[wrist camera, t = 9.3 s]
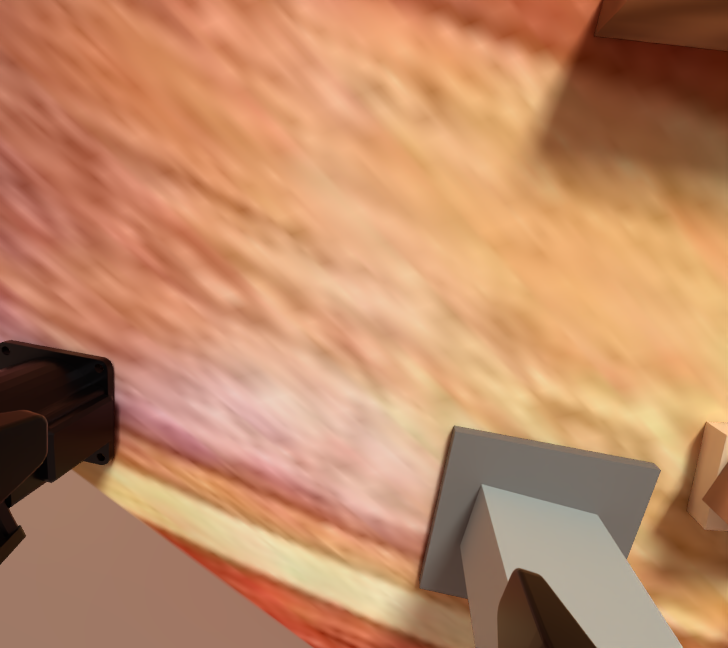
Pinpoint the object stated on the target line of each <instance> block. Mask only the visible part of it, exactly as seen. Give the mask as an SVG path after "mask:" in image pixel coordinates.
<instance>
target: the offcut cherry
mask: <svg viewBox="0 0 728 648" xmlns="http://www.w3.org/2000/svg"><path fill="white" fill-rule="evenodd" d="M702 500H703V501H704V502H705V503H706V504H707V505H708V506H709V507H710V508H711V509H712V510H713V511H714V512H715V513H716V514H717V515H718V516H719V517H720V518H722V519H723V520H724V521H725V522H726V523H727V524H728V462H727V464H726V465H725V467H724V468H723V470H722V471H721V472H720V474H719V475H718V477H717V478H716V480H715V481H714V483H713V484H712V485H711V487H710V488H709V490H708V491H707V493H706V494H705V496H704V497H703V498H702Z"/></svg>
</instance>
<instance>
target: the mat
mask: <svg viewBox="0 0 728 648" xmlns="http://www.w3.org/2000/svg"><path fill="white" fill-rule="evenodd" d="M660 471H661V470H660V469H659V468H658V467H657V466H656V465H655V464H654V463H650V462H644V461H639V460H634V459H628V458H623V457H618V456H612V455H607V454H602V453H596V452H591V451H586V450H581V449H575V448H570V447H565V446H559V445H554V444H549V443H543V442H538V441H533V440H527V439H522V438H517V437H511V436H506V435H501V434H495V433H490V432H485V431H479V430H474V429H469V428H463V427H458V426H454V429H453V433H452V437H451V442H450V446H449V451H448V455H447V460H446V464H445V468H444V473H443V477H442V482H441V486H440V490H439V495H438V499H437V504H436V508H435V513H434V517H433V521H432V526H431V530H430V535H429V539H428V544H427V548H426V552H425V557H424V561H423V566H422V570H421V574H420V579H419V584H420V588H421V589H425V590H430V591H434V592H439V593H443V594H448V595H453V596H457V597H462V598H466V599H468V595H467V588H466V582H465V575H464V569H463V562H462V556H461V549H460V545H461V542H462V539H463V536H464V533H465V530H466V527H467V525H468V522H469V519H470V516H471V513H472V510H473V507H474V504H475V502H476V499H477V496H478V493H479V490H480V487H481V484H483V485H487V486H490V487H494V488H498V489H502V490H506V491H509V492H513V493H517V494H521V495H525V496H528V497H532V498H536V499H540V500H543V501H547V502H551V503H555V504H559V505H562V506H566V507H570V508H574V509H578V510H581V511H585V512H589V513H593V514H596V515H598V516H599V518H600V519H601V521H602V522H603V524H604V526H605V527H606V529H607V530H608V532H609V533H610V535H611V536H612V538H613V540H614V541H615V543H616V544H617V546H618V547H619V549H620V550H621V552H622V554H623V555H624V557H625V558H626V560H627V557H628V555H629V552H630V550H631V547H632V544H633V542H634V539H635V537H636V534H637V531H638V529H639V526H640V524H641V521H642V518H643V516H644V513H645V510H646V508H647V505H648V503H649V500H650V497H651V495H652V492H653V490H654V487H655V484H656V482H657V479H658V477H659V474H660Z"/></svg>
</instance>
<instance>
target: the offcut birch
mask: <svg viewBox="0 0 728 648" xmlns="http://www.w3.org/2000/svg"><path fill="white" fill-rule="evenodd" d="M727 462H728V423H724V422H706V425H705V430H704V434H703V439H702V443H701V448H700V453H699V457H698V462H697V466H696V471H695V475H694V480H693V485H692V489H691V494H690V498H689V503H688V507H687V512H688V513H689V514H690V515H691V516H692V517H693V518H694V519H695V520H696V521H697V522H698V523H699V524H700V525H701V526H702V527H703V528H704V529H705V530H716V531H728V524H727V523H726V522H725V521H724V520H723V519H722V518H720V517H719V516H718V515H717V514H716V513H715V512H714V511H713V510H712V509H711V508H710V507H709V506H708V505H707V504H706V503H705V502H704V501H703V500H702V498H703V497H704V496H705V494H706V493H707V491H708V490H709V488H710V487H711V485H712V484H713V483H714V481H715V480H716V478H717V477H718V475H719V474H720V472H721V471H722V470H723V468H724V467H725V465H726V464H727Z"/></svg>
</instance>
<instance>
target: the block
mask: <svg viewBox="0 0 728 648" xmlns="http://www.w3.org/2000/svg"><path fill="white" fill-rule="evenodd" d="M460 549H461V556H462V562H463V569H464V575H465V582H466V588H467V595H468V602H469V608H470V615H471V621H472V628H473V635H474V641H475V648H498V634H497V611H498V605H499V602H500V599H501V597H502V595H503V592H504V590H505V588H506V585H507V583H508V581H509V578H510V576H511V574H512V572H513V571H514V569H516V568H522V569H525V570H528V571H531V572H534V573H537V574H539V575H541V576H542V577H543V578H544V579H545V580H546V582H547V583H548V584H549V586H550V587H551V588H552V590H553V591H554V592H555V593H556V595H557V596H558V597H559V599H560V600H561V601H562V603H563V604H564V605H565V607H566V608H567V609H568V610H569V612H570V613H571V614H572V616H573V617H574V618H575V620H576V621H577V622H578V624H579V625H580V626H581V627H582V629H583V630H584V631H585V633H586V634H587V635H588V637H589V638H590V639H591V641H592V642H593V643H594V644H595V646H596V647H597V648H683V647H682V645H681V644H680V642H679V641H678V639H677V638H676V636H675V634H674V633H673V631H672V630H671V628H670V627H669V625H668V624H667V622H666V620H665V619H664V617H663V616H662V614H661V613H660V611H659V610H658V608H657V606H656V605H655V603H654V602H653V600H652V599H651V597H650V596H649V594H648V592H647V591H646V589H645V588H644V586H643V585H642V583H641V582H640V580H639V578H638V577H637V575H636V574H635V572H634V571H633V569H632V568H631V566H630V564H629V563H628V561H627V560H626V558H625V557H624V555H623V554H622V552H621V550H620V549H619V547H618V546H617V544H616V543H615V541H614V540H613V538H612V536H611V535H610V533H609V532H608V530H607V529H606V527H605V526H604V524H603V522H602V521H601V519H600V518H599V516H598V515H596V514H593V513H589V512H585V511H581V510H578V509H574V508H570V507H566V506H562V505H559V504H555V503H551V502H547V501H543V500H540V499H536V498H532V497H528V496H525V495H521V494H517V493H513V492H509V491H506V490H502V489H498V488H494V487H490V486H487V485H483V484H481V487H480V490H479V493H478V496H477V499H476V502H475V504H474V507H473V510H472V513H471V516H470V519H469V522H468V525H467V527H466V530H465V533H464V536H463V539H462V542H461V545H460Z"/></svg>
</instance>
